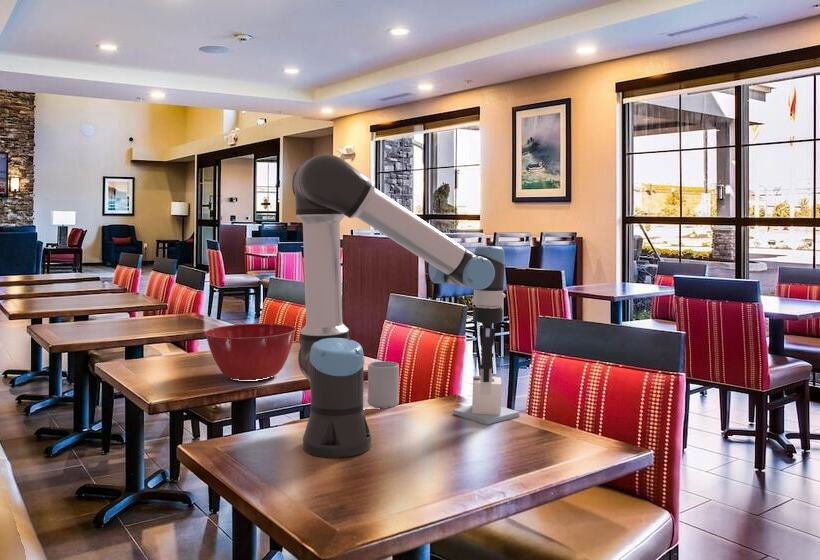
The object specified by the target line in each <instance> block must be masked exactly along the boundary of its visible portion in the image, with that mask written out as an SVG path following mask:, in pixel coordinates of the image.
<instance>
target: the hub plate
mask: <svg viewBox="0 0 820 560" xmlns="http://www.w3.org/2000/svg"><path fill="white" fill-rule="evenodd" d="M453 415H455V416H458V417H462V418H465V419H467V420H470V421H473V422H477V423H480V424H483V425H486V426H488V425H493V424H495V423H498V422H499V423H500V422H503V421H508V420H510V419H514V418H519V417H520V411H518V410H514V409H511V408H508V407H504V406H501V414H500V415H491V414H472V405H468V406H467V405H466V406H464V407H458V408H454V409H453Z"/></svg>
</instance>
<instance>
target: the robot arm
mask: <svg viewBox="0 0 820 560" xmlns="http://www.w3.org/2000/svg"><path fill="white" fill-rule="evenodd" d="M291 180H292V181H291V190H292V194H294V195H293V196H294V198H295V199H294V200H295V216H296V218H297V220H300V222H301V223H302V234H303V235H302V239H303V242H302V243H303V265H304V266H303V268H304V272H303V273H304V294H305V295H304V297H305V298H304V299H305V302H304V303H305V325H304V326H303V327H302V328H301V329H300V331H299V332H300V333H299V338H300V341H299V343H300V347H299V350H298V356H297V360H298V367H299V369H300V371H301V373H302V375H303V376H304V378H305V379H307V380H308V382H309V385H310V414H309V417H308V420H307V425H306V428H305V430H304V434H303V436H302V449H303V450H304V452H306V453H307V454H310V455H311V456H315V457H321V458H335V459H336V458H337V459H338V458H347V457H348V458H349V457H354V456H358V455H362V454H364V453H365V452H367V451H369V450H370V449H371V447H372V435H371V431H370V428H369V425H368V422H367V419H366V416H365V412H364V365H365V356H364V350H363V346H362V345H361V344H360V343H359V342H357V341H356V340H353V339H350V329H349V328H348V327H347V326H346V325H345V324H344V322H343V301H342V300H343V299H342V296H343V295H342V266H341V261H342V260H341V234H340V232H341V231H340V229H341V228H340V222H341V221H342V220H343V219H344V218H345V217H348V219H353V218H358V219H359V220H360V221H362V222H363V223H364V224H367V225H368V226H369V227H371V228H373V229H375V230H376V231H377V232H379V233H380V234H383V235H384V236H385V237H386V238H389V239H390V240H392V241H393V242H395V243H396V244H398V245H400V246H401V247H403V248H404V249H406V250H408V251H409V252H411V253H412V254H414V255H415V256H417V257H418V258H420V259H422V261H423V260H424V261H425V262H426V263H428V275H429V279H430V280H431V282H432V283H434V284H441V285H444V284H445V285H446V284H450V285H456V286H459V287H460V286H461V287H464V288H468V289H470V290H473V302H472V304H473V305H474V307H473V309H472V310H473V312H472V313H473V314H472V320H473V321H474V322H476V323H481V325H482V327H479V337H480V338H479V339H480V346H481V349H480V352H481V353H480V356H481V357H480V364H478V369H479V371H480V374H479V376H481V382H480V394H483V395H491V381H492V377H493V376H492V375H493V374H492V373H493V369H492V368H493V358H494V353H493V346H494V345H495V337H496V328H493V324H499V323H502V322H503V315H504V311H503V310H504V309H503V307H502V306H503V305H504V299H503V298H506V294H505V293H504V284H505V283H504V281H505V266H506V263H505V262H506V260H505V259H506V257H505V249H504V248H503V247H501V246H496V245H477V246H476V247H475V248H474V253H473V252H472V251H471V250H469V249H468V248H465V247H464V246H463V245H461V244H460V243H458V241H455V240H454V239H453V238H451V237H449V236H447V234H445V233H444V232H442V231H440V230H439V229H437V228H436V227H435V226H433V225H431V224H430V223H428V222H427V221H425V220H424V219H422V218H421V217H420V216H418V215H416V214H415V213H413V212H411V210H409V209H407V208H406V207H404V206H403V205H401V204H400V203H398V202H397V201H396V200H394V199H392V198H391V197H389V196H388V195H386V194H385V193H383V192H381V190H379V189H377V188H376V187H375V182H374V180H372V179H370V178H369V177H368V176H366V175H365V174H364V173H362V172H360V170H358V169H356V168H355V167H354V166H353V165H351V164H350V163H348V162H347V161H346V160H345V159H342V158H341V157H339V156H337V155H333V154H328V153H324V154H317V155H315V156H313V157H311V158H309V159H307V160H305V161H303V162H301V164H299V166H298V167H297V168H296V169H295V171H294V173H293V175H292V179H291Z"/></svg>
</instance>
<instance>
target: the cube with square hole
mask: <svg viewBox="0 0 820 560" xmlns="http://www.w3.org/2000/svg"><path fill="white" fill-rule="evenodd" d="M480 382H481V376H480V375H473V379H472V414H491V415H500V414H501V407H502V386H503V385H502V377H500V376H492V381H491V395H483V394H480Z"/></svg>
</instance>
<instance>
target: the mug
mask: <svg viewBox="0 0 820 560" xmlns="http://www.w3.org/2000/svg"><path fill="white" fill-rule="evenodd" d="M399 366H400V365H399V363H397V362H395V361H386V360H385V361H381V360H379V361H372V362H370V363H368V366H367V387H368V388H367V404H368V406H370V407H374V408H381V409H383V408H384V409H385V408H386V409H387V408H394V407H396V406H399V402H400V392H399V391H400V381H399V380H400V367H399Z"/></svg>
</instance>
